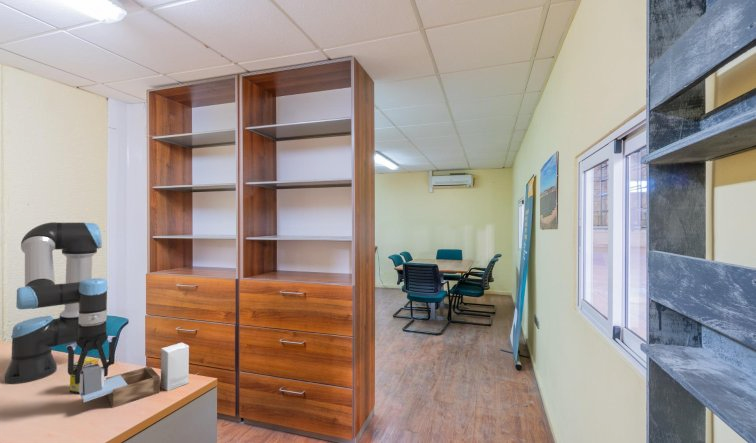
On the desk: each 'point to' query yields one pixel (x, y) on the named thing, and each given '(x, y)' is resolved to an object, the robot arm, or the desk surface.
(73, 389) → the supplement box
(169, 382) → the skincare box
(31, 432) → the desk surface
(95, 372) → the lid
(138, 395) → the box
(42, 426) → the desk surface
